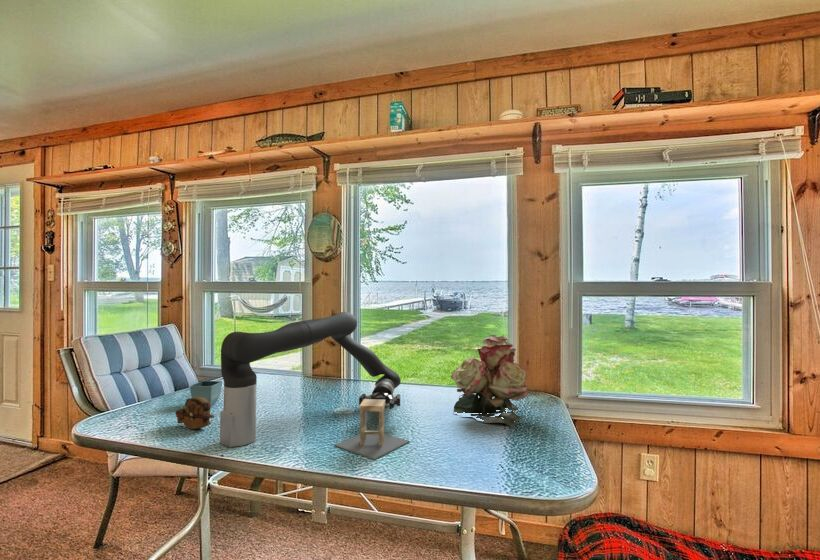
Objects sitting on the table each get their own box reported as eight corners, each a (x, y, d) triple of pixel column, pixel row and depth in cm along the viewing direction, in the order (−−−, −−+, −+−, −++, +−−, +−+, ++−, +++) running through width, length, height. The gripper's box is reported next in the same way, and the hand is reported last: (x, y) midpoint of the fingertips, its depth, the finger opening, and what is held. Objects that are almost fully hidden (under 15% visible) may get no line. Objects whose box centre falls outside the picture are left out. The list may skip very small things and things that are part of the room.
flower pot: (211, 409, 151) (211, 386, 152) (188, 408, 151) (189, 385, 152) (222, 402, 160) (222, 380, 160) (201, 402, 160) (201, 380, 161)
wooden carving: (169, 427, 131) (170, 397, 131) (182, 423, 135) (182, 394, 135) (206, 433, 125) (207, 402, 125) (218, 429, 129) (219, 398, 130)
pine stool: (359, 447, 113) (359, 405, 114) (363, 438, 121) (363, 399, 121) (382, 447, 113) (382, 406, 114) (385, 438, 120) (385, 399, 121)
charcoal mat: (374, 460, 106) (374, 458, 106) (334, 446, 115) (334, 444, 115) (409, 442, 118) (409, 440, 118) (370, 430, 128) (370, 429, 128)
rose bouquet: (443, 416, 143) (443, 335, 144) (484, 400, 165) (483, 330, 166) (507, 433, 126) (507, 341, 127) (543, 413, 148) (542, 334, 149)
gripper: (364, 382, 145) (356, 394, 129) (402, 383, 144) (399, 394, 128) (364, 403, 144) (356, 417, 128) (402, 403, 144) (399, 417, 128)
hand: (377, 405), depth 128 cm, fingers open, 8 cm apart
